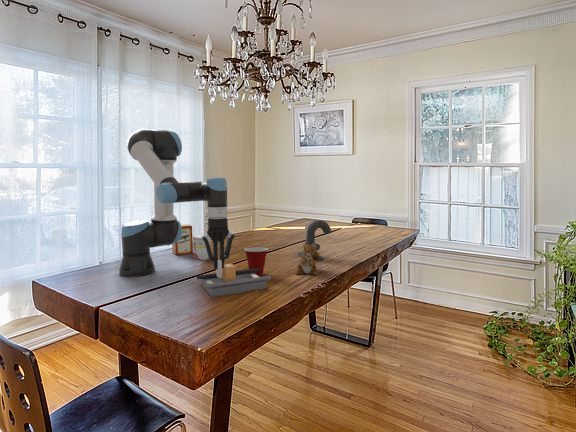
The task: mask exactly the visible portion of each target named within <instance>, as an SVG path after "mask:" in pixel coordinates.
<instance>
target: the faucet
mask: <svg viewBox="0 0 576 432" xmlns="http://www.w3.org/2000/svg"><path fill="white" fill-rule="evenodd" d="M318 229H320V230H322V233H324V234H331V233H332V228H331V226H330V224H329V223H328V222H326V221H325V220H323V219H321V220H320V219H319V220H314V221H311V222H310V223H309V224H308V226H307V228H306V237H305V238H306V239H305V242H304V245H312V246H317V247H316V248H315V250H316V251H319V250H320V248H321V245H320V244H319V243H316V239H315V237H316V231H317V230H318ZM303 252H304V251H299V252H297V256H299V257H301V258H302V257H303V256H304V254H303ZM302 254H303V255H302ZM323 260H324V261H325V258H324V257H322V256H321V255H320V257H319V259H318V260H317V261H316V262H324V261H323Z"/></svg>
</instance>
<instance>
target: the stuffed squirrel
mask: <svg viewBox="0 0 576 432" xmlns="http://www.w3.org/2000/svg"><path fill="white" fill-rule="evenodd" d="M301 246H302V248H303V251H302V252H303V254H304V256H303V257H301V259H300V260H299V261H300V263H299V264H298V265H297V269H296V270H295V273H294V274H295V275H297V274H298V275H301V274H304V273H306V275H309V273H310V275H312V274H313V276H318V274H319V273H318V269H317V266H316V262H318V261H317V260H318V259H319V257H320V256H321V254H320V252H318V251H319V250H317V251H316V250H315V248H316V247H317V246H312V245H305V244H302V245H301ZM303 254H302V255H303ZM315 261H316V262H315Z"/></svg>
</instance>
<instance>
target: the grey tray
mask: <svg viewBox="0 0 576 432" xmlns="http://www.w3.org/2000/svg"><path fill="white" fill-rule="evenodd" d="M253 272H259V268H254V269H249V268H246V269H240V270H236V275H237V274H245V273H253ZM214 277H217V274H216V273H215V272H214V273H208V274H207V273H206V274H199V275H196V280H198V281H199V280H201V279H206V278H214ZM271 279H272V276H271V275H265V276H259V277H257V278H249V279H242V280H235V281H228V282H220V283H213V284H206V285H205V289H208V288H215V287H222V286H229V285H237V284H244V283H251V282H258V281H270V280H271ZM205 289H204V290H205Z"/></svg>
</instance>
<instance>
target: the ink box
mask: <svg viewBox="0 0 576 432" xmlns="http://www.w3.org/2000/svg"><path fill="white" fill-rule="evenodd" d="M202 236H204V235H203V234H197V235H195V236H194V235H193V236H192V240H193V256H192V257H193V259H197V260H203V261H206V260H210V259H209V257H208V253H207V250H206V246H205V243H204V241H203V239H202V238H201V237H202ZM208 238H209V239H208V242H209V245H210V246H211V238H210V237H208Z"/></svg>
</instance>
